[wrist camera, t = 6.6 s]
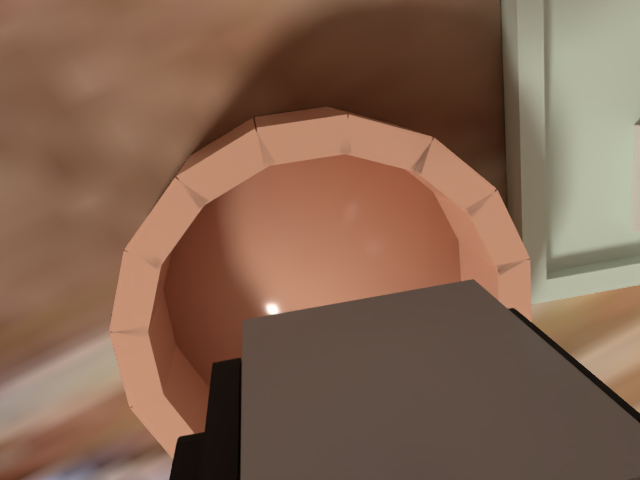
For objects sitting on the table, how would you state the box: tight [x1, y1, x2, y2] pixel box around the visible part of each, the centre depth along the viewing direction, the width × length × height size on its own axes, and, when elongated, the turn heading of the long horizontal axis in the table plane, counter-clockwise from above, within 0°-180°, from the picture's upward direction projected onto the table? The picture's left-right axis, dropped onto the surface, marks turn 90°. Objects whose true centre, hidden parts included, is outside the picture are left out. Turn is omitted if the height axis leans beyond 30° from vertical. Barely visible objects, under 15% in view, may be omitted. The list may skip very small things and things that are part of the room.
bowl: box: [109, 106, 532, 459], centre depth 21 cm, size 14×14×4 cm
